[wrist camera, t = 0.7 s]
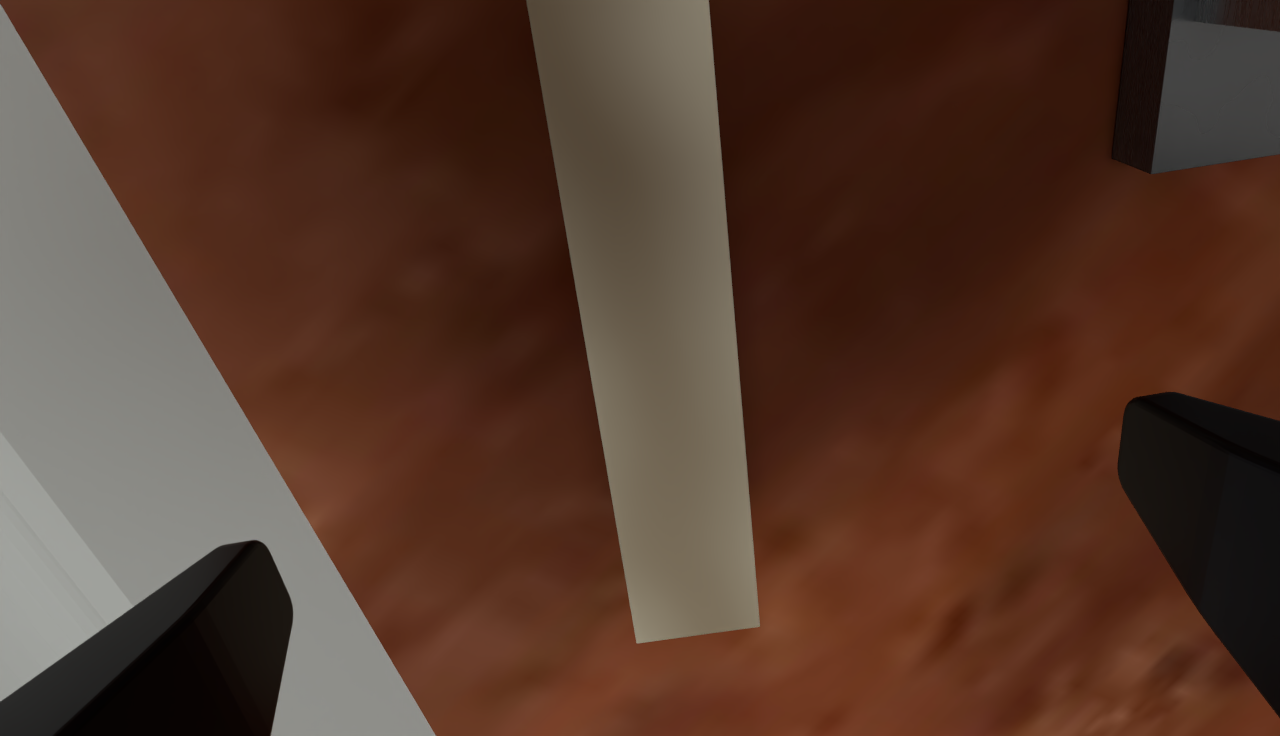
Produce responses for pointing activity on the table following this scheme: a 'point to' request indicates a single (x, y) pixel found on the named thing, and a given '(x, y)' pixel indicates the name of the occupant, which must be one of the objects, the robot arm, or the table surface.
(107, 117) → the table surface
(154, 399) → the crown molding
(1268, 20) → the fulcrum
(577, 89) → the batten
